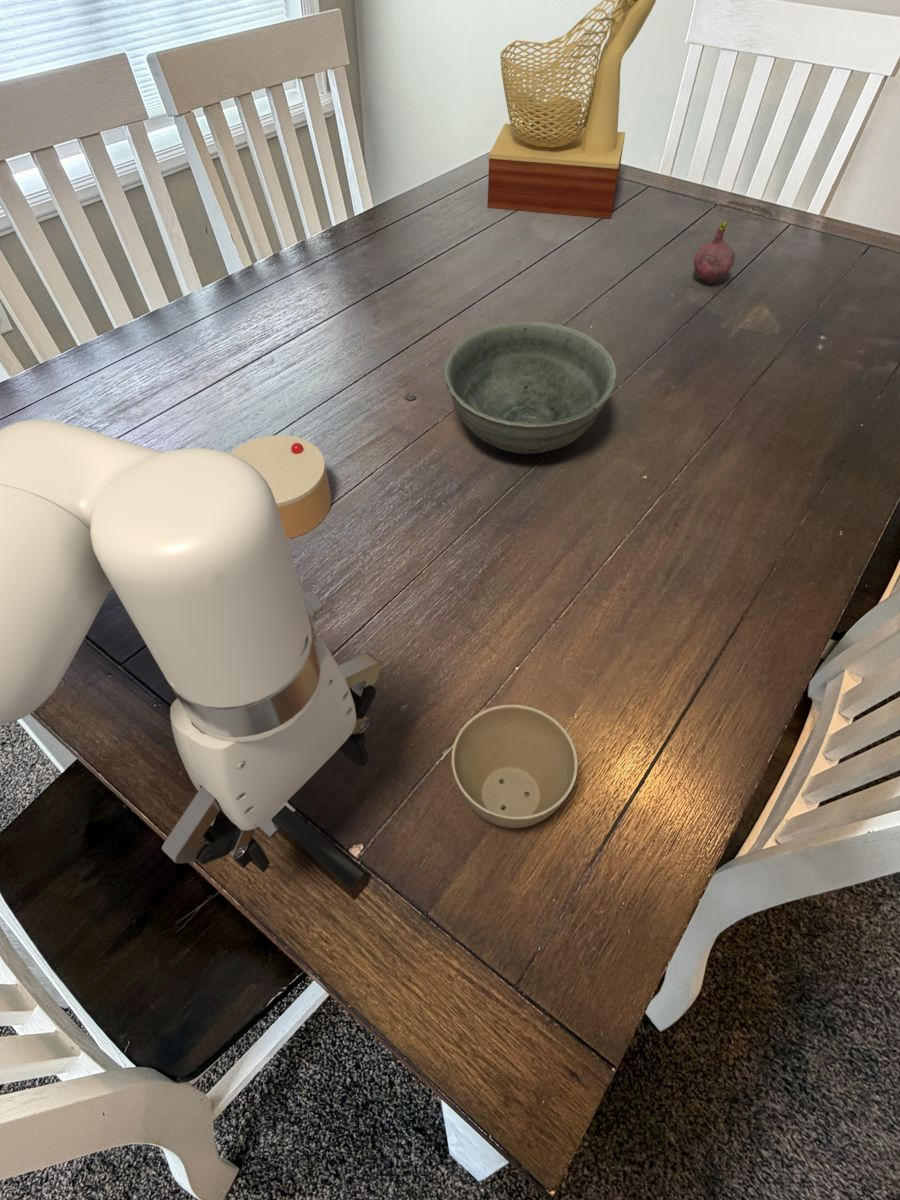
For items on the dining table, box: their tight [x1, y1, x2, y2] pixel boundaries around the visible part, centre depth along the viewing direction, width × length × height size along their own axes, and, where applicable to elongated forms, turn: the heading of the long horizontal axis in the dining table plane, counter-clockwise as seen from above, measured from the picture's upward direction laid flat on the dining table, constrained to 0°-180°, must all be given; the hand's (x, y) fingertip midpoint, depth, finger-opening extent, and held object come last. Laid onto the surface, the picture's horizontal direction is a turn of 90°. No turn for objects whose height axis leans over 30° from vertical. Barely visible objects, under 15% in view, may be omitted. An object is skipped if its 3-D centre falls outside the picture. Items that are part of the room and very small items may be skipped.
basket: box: [487, 0, 657, 219], centre depth 128 cm, size 25×18×35 cm
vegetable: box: [693, 221, 736, 284], centre depth 116 cm, size 6×6×10 cm
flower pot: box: [451, 704, 579, 829], centre depth 61 cm, size 10×10×7 cm
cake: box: [229, 434, 332, 540], centre depth 85 cm, size 12×12×6 cm
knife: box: [258, 801, 368, 901], centre depth 62 cm, size 3×21×3 cm, turn 51°
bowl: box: [443, 320, 617, 455], centre depth 91 cm, size 21×21×10 cm
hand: (303, 802), depth 52 cm, fingers open, 9 cm apart
